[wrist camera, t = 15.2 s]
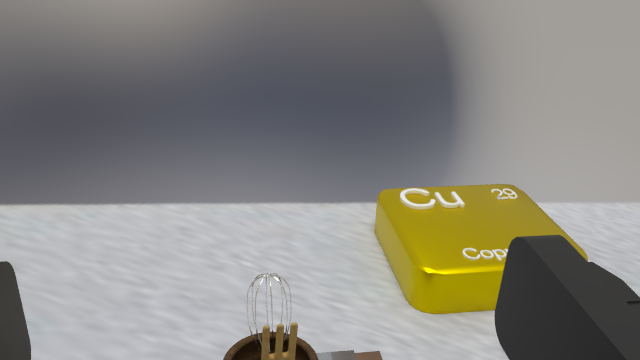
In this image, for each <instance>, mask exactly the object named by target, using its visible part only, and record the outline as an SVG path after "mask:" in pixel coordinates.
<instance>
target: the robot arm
mask: <svg viewBox="0 0 640 360" xmlns="http://www.w3.org/2000/svg"><path fill="white" fill-rule="evenodd" d="M495 327H496V332H497V336H498V339H499V342H500V344H501V346H502V348H503V350H504V351H505V353H506V355H507V356H508V358H509V360H640V297H639V296H638V295H637V294H636V293H635V292H634V291H633V290H632V289H631V288H630V287H629V286H628V285H627V284H626V283H625V282H624V281H623V280H622V279H620V278H618V277H617V276H615V275H613V274H612V273H610V272H608V271H607V270H605V269H603V268H602V267H600V266H598V265H597V264H595V263H593V262H588V261H587V260H586V259H585V258H584V257H583V256H582V255H581V254H580V253H579V252H578V251H577V250H576V249H575V248H574V247H573V246H572V245H571V244H570V243H569V242H568V241H567V239H565V238H564V237H563V236H561V235H542V236H522V237H515V238H514V239H513V240H512V241H511V243H510V245H509V248H508V252H507V256H506V261H505V266H504V270H503V275H502V280H501V285H500V289H499V294H498V299H497V303H496V308H495ZM0 360H31V345H30V339H29V334H28V330H27V325H26V321H25V316H24V312H23V307H22V303H21V298H20V294H19V289H18V285H17V280H16V276H15V272H14V269H13V267H12V265H11V264H10V263H9V262H0Z"/></svg>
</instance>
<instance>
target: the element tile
mask: <svg viewBox="0 0 640 360" xmlns="http://www.w3.org/2000/svg"><path fill="white" fill-rule="evenodd" d="M375 234H376V236H377V238H378V240H379V242H380V245H381V247H382V249H383V251H384V253H385V255H386V257H387V260H388V262H389V264H390V266H391V268H392V270H393V272H394V274H395V277H396V279H397V281H398V283H399V285H400V287H401V289H402V291H403V294H404V296H405V298H406V300H407V301H408V303H409V304H410V305H412V306H413V307H414V308H415V309H417V310H419V311H422V312H425V313H431V314H447V313H460V312H473V311H486V310H495V308H496V303H497V299H498V294H499V289H500V285H501V280H502V275H503V270H504V266H505V261H506V256H507V252H508V248H509V245H510V243H511V241H512V240H513V239H514V238H515V237H522V236H542V235H561V236H563V237H564V238H565V239H567V241H568V242H569V243H570V244H571V245H572V246H573V247H574V248H575V249H576V250H577V251H578V252H579V253H580V254H581V255H582V256H583V257H584V258H585V259H586V260H587V261H588V258H587V254H586V253H585V252H584V250H583V249H582V248H581V247H580V246H579V245H578V244H577V243H575V242H574V241H573V240H572V239H571V238H570V237H569V236H568V235H567V234H566V233H565V232H564V231H563V230H562V229H561V228H560V227H559V226H558V225H557V224H556V223H555V222H554V221H553V220H552V219H551V218H550V217H549V216H548V215H547V214H546V213H545V212H544V211H543V210H542V209H541V208H540V207H539V206H538V205H537V204H536V203H535V202H534V201H533V200H531V198H529V196H527V194H526V193H524V192H523V191H522V190H520V189H519V188H517V187H516V186H514V185H508V184H494V185H493V184H492V185H469V186H468V185H467V186H444V187H443V186H442V187H417V188H394V189H386V190H383V191H382V192H381V193H379V195H378V198H377V209H376V221H375Z"/></svg>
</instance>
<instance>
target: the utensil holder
mask: <svg viewBox="0 0 640 360" xmlns="http://www.w3.org/2000/svg"><path fill="white" fill-rule="evenodd" d="M267 274H268V273H267ZM267 274H261V275H264V276H266V277H264V278H263V280H264V279H265V278H266V306H267V276H268V277H269V276H271V274H275V273H271V274H268V275H267ZM258 276H260V275H258ZM258 276H257V277H258ZM273 276H278V275H277V274H275V275H273ZM273 276H271V277H273ZM257 277H256V278H257ZM261 277H263V276H261ZM261 277H259V278H261ZM278 277H279V279H280V278H282V277H280V276H278ZM256 278H255V280H254V281H253V283H252V284H254V282H255V281H256V280H257V279H259V278H257V279H256ZM273 278H275V277H273ZM275 279H276V278H275ZM282 279H283V278H282ZM263 280H262V281H263ZM276 280H277V279H276ZM283 280H284V279H283ZM262 281H261V283H262ZM277 281H278V280H277ZM284 281H285V280H284ZM278 282H279V281H278ZM280 282H281V279H280ZM280 282H279V283H280ZM285 282H286V281H285ZM261 283H260V284H261ZM269 283H270V278H269ZM252 284H251V285H252ZM260 284H259V286H260ZM286 284H287V285H288V283H287V282H286ZM251 285H250V287H251ZM280 285H281V290H282V288H283V286H282V282H281V283H280ZM259 286H258V289H259ZM250 287H249V289H250ZM288 287H289V285H288ZM258 289H257V292H258ZM283 290H284V288H283ZM270 291H271V283H270ZM289 291H290V288H289ZM257 292H256V296H257ZM248 293H249V290H248ZM248 293H247V318H248ZM284 293H285V290H284ZM285 297H286V293H285ZM290 304H291V293H290ZM271 308H272V292H271ZM286 310H287V298H286ZM252 313H253V285H252ZM291 313H292V308H291ZM282 316H283V293H282ZM253 319H254V314H253ZM290 322H291V316H290ZM254 324H255V327H256V333H257V334H254V335H253V334H252V332H251V334H252V335H251V336H248V337H246V338H244V339H242V340H240V341H238V342H237V343H236V344H234V345H233V346H232V347H231V348H230V349H229V350H228V352H227V353H226V355H225V357H224V359H223V360H318V357H317V355H316V353H315V351H314V350H313V348H312V347H311V346H310V345H309V344H308V343H306V342H305V341H304V340H302V339H300V338H298V337H297V328H298V324H297V323H292V324H291V327H290V323H289V327H290V334H287V333H288V330H289V327H288V330H287V326H286V332H287V333H286V332H285V333H284V325H282V317H281V324H279V325H277V330H276V332H273V311H272V332H270V327H269V326H264V327H263V333H258V331H257V326H256V297H255V320H254ZM287 324H288V313H287ZM248 325H249V320H248ZM267 325H268V311H267ZM249 328H250V325H249ZM250 331H251V329H250Z"/></svg>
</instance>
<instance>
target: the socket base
mask: <svg viewBox="0 0 640 360" xmlns="http://www.w3.org/2000/svg"><path fill="white" fill-rule="evenodd" d="M316 355H317V357H318V360H382V357H381V354H380V351H375V352H363V353H354V350H351V351H339V352H326V353H316Z"/></svg>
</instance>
